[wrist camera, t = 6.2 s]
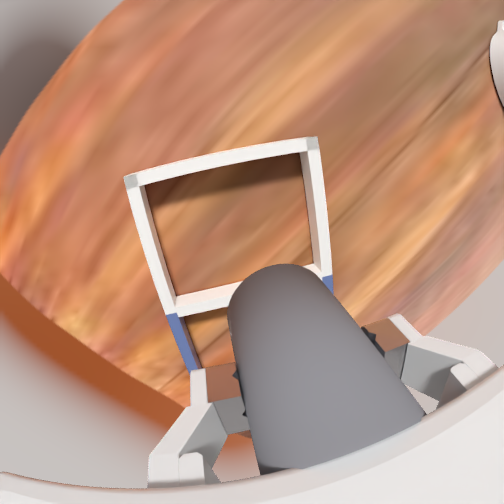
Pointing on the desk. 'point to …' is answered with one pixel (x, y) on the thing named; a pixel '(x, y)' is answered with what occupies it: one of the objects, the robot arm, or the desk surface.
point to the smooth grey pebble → (310, 373)
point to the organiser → (222, 295)
